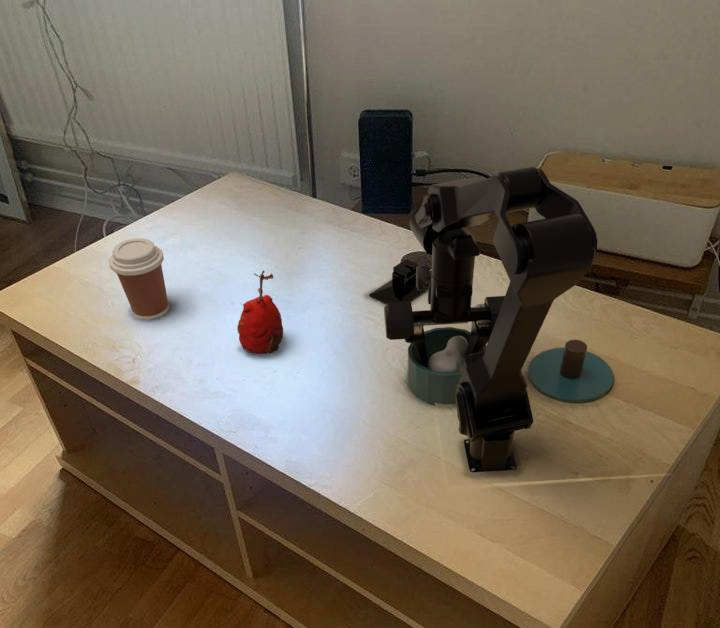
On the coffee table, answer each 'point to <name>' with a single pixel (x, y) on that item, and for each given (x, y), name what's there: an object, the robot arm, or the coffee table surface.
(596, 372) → the tin lid
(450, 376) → the tin
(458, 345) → the pale two-lobed sculpture
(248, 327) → the red fruit with stem
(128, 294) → the coffee cup
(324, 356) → the coffee table surface
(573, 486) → the coffee table surface
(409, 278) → the build plate
